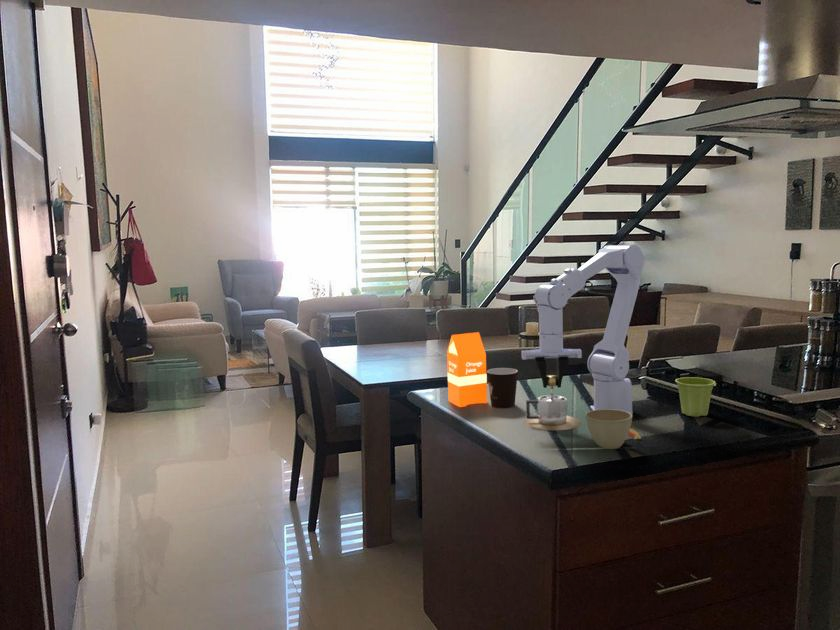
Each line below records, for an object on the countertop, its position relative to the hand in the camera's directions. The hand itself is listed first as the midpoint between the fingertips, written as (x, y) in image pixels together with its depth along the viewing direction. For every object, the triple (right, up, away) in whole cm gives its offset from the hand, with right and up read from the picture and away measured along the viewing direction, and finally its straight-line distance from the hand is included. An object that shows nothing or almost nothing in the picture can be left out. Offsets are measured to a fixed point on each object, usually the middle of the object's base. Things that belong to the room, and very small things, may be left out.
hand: (551, 386), depth 164 cm
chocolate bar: (+16, -11, -9) cm, 21 cm away
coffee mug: (-9, -8, +21) cm, 24 cm away
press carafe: (-1, -9, +1) cm, 9 cm away
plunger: (0, -4, 0) cm, 4 cm away
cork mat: (0, -9, +1) cm, 9 cm away
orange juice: (-19, -7, +25) cm, 33 cm away
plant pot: (+38, -8, +5) cm, 39 cm away
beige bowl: (+9, -11, -17) cm, 23 cm away
